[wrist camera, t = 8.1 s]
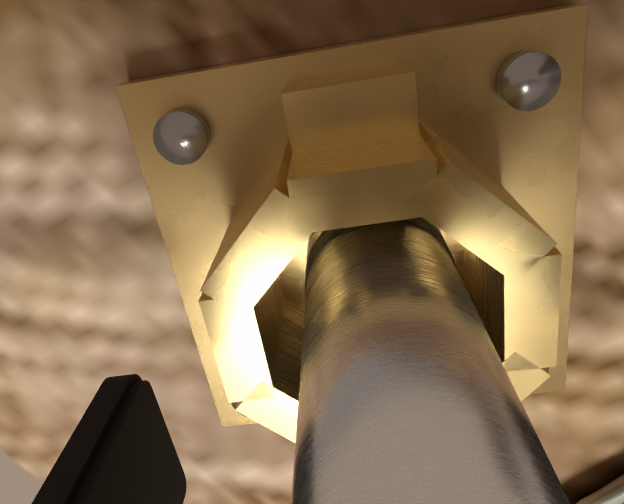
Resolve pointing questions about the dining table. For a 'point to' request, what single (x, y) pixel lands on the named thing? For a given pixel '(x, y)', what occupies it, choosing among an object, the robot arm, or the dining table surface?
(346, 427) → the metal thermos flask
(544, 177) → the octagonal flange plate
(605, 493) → the avocado toast plate
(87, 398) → the dining table surface
